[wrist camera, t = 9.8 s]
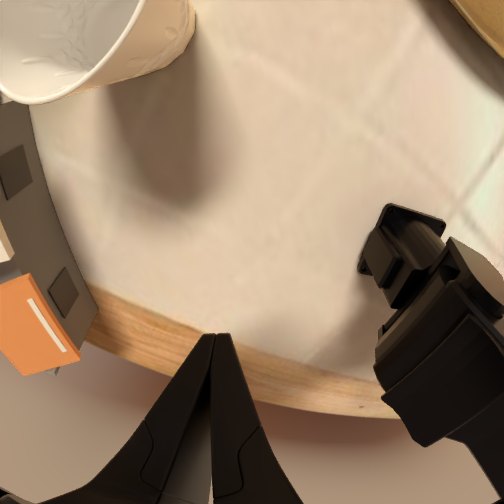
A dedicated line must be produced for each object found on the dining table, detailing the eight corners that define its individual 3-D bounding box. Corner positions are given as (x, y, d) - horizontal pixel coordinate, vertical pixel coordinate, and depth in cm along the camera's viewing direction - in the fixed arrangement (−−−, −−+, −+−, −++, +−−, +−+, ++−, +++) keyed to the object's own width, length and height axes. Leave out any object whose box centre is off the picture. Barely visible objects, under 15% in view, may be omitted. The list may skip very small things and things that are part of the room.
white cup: (193, -37, 10) (141, -110, 2) (217, 62, 15) (174, 48, 6) (85, 7, 11) (-18, -6, 3) (106, 99, 16) (3, 137, 7)
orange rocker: (29, 272, 16) (27, 279, 15) (80, 353, 21) (80, 360, 21) (-31, 297, 14) (-34, 304, 13) (24, 369, 19) (23, 376, 18)
